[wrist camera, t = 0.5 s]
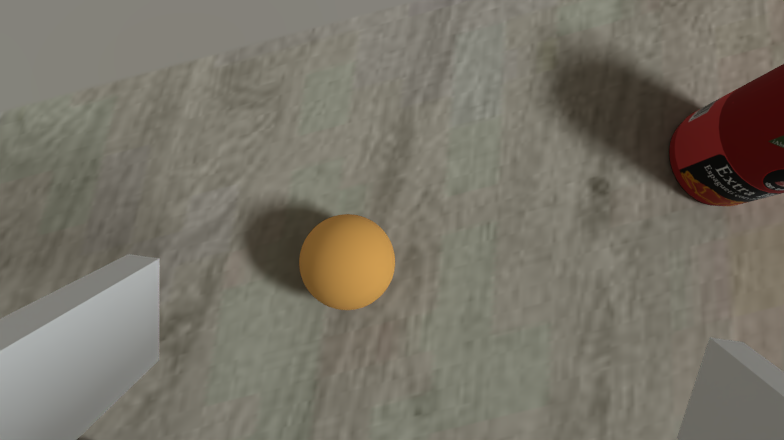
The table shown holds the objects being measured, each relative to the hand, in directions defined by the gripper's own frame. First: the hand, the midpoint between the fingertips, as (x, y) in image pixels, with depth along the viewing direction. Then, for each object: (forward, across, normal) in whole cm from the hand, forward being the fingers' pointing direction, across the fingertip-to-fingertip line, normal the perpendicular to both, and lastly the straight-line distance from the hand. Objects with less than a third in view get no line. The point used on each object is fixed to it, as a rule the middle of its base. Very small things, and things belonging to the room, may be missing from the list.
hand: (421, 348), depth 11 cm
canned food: (+28, -22, -4) cm, 36 cm away
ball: (+15, +4, +4) cm, 16 cm away
